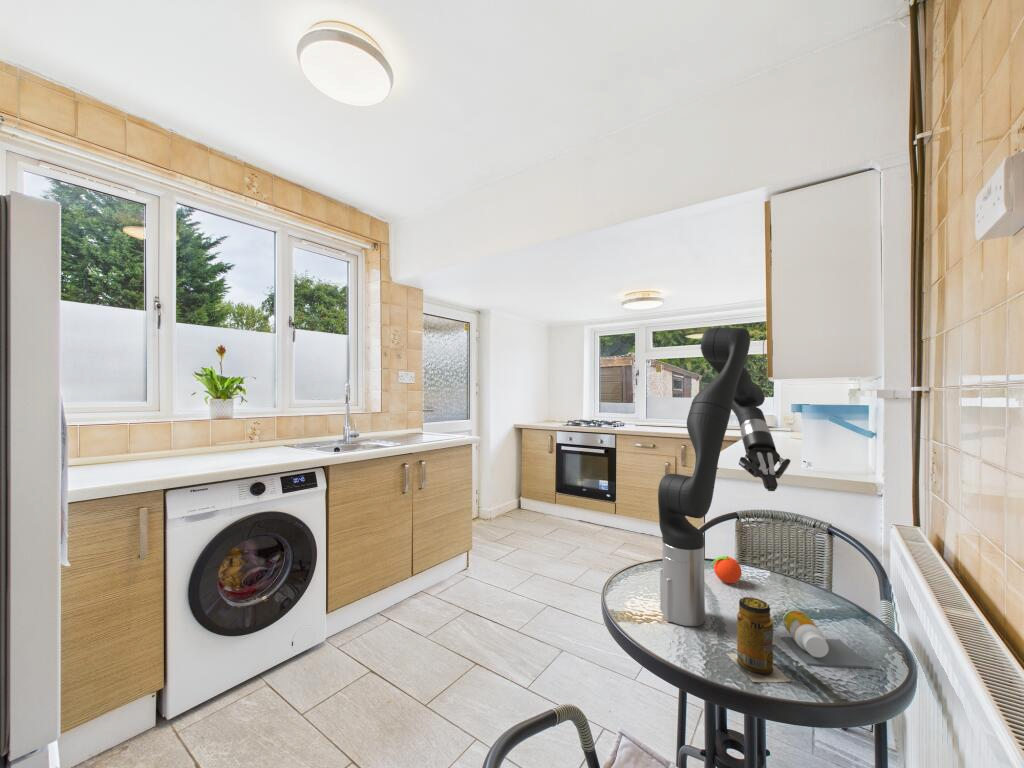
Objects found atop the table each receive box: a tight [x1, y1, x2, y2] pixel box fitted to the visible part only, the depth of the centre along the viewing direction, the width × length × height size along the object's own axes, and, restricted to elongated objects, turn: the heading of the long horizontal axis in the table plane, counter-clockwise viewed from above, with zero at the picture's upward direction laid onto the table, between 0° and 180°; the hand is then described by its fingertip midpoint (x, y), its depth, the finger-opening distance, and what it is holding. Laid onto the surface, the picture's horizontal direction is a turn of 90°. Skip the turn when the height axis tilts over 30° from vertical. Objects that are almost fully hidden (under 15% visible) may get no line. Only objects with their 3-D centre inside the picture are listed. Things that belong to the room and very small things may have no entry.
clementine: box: [710, 556, 742, 584], centre depth 118 cm, size 8×7×7 cm
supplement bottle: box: [782, 609, 829, 657], centre depth 87 cm, size 5×5×10 cm
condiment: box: [726, 596, 791, 684], centre depth 81 cm, size 7×8×12 cm
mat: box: [780, 636, 873, 669], centre depth 85 cm, size 12×9×1 cm
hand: (772, 489), depth 110 cm, fingers closed
